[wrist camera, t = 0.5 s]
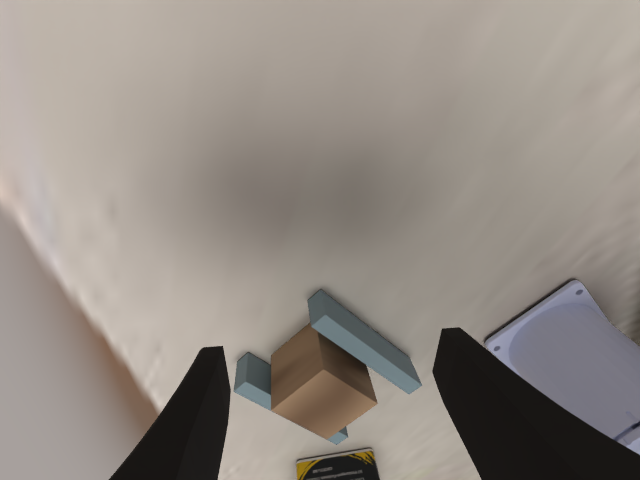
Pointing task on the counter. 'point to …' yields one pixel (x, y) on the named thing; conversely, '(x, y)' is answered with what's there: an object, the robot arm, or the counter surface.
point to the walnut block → (319, 384)
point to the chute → (344, 333)
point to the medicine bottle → (339, 467)
